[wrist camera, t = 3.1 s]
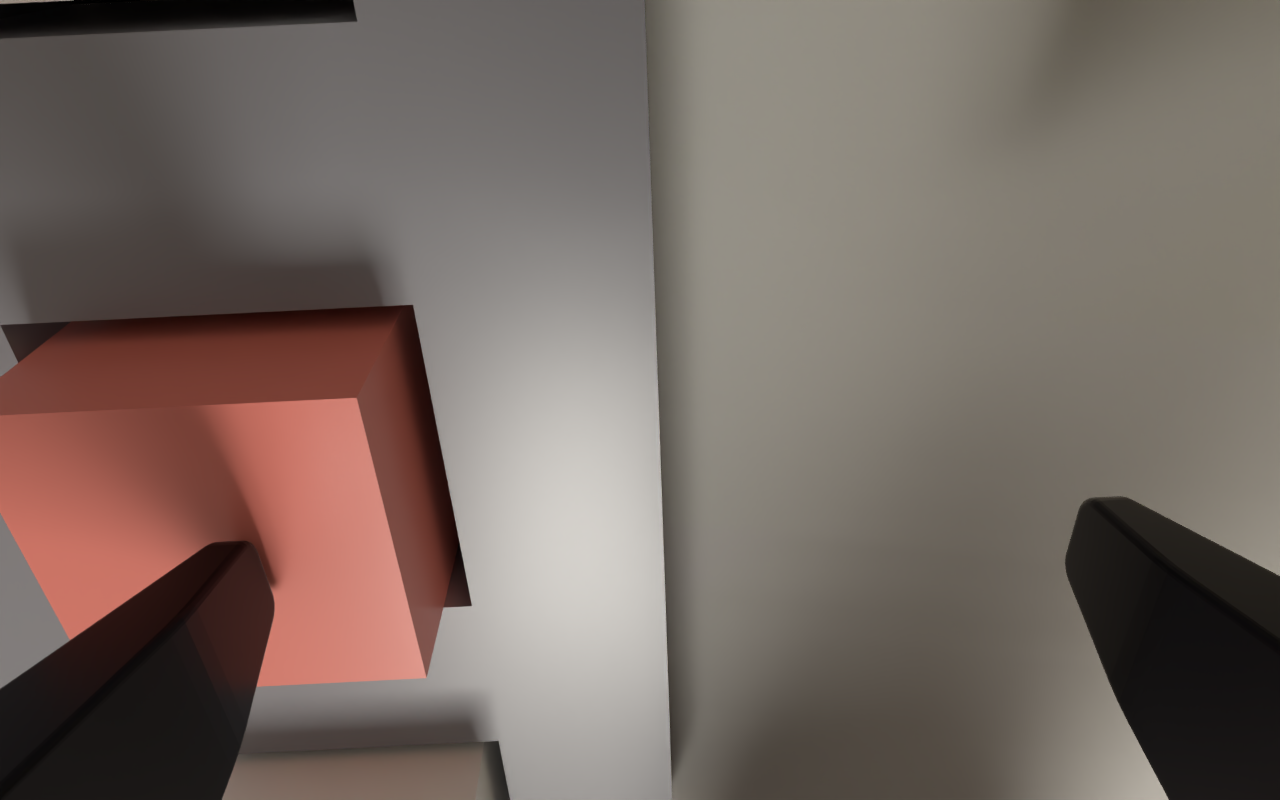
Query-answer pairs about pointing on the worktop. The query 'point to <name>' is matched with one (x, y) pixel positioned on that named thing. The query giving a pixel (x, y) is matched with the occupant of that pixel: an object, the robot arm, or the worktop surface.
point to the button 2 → (373, 774)
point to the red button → (240, 475)
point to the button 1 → (26, 1)
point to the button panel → (388, 276)
